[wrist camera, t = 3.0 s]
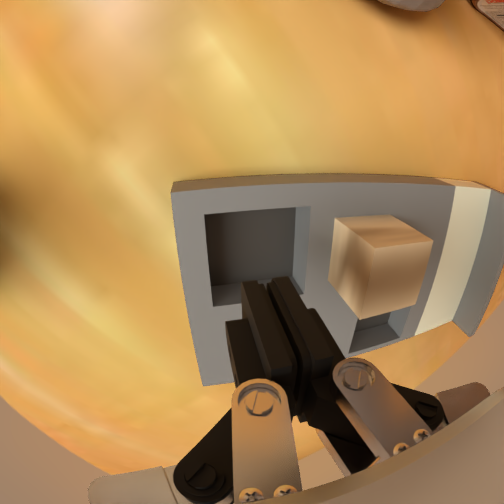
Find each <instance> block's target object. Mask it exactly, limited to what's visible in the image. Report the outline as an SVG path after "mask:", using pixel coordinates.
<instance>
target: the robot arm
mask: <svg viewBox="0 0 504 504" xmlns="http://www.w3.org/2000/svg"><path fill="white" fill-rule="evenodd" d="M241 303H242V319H238V320H230V321H225V328H226V338H227V346H228V352H229V358H230V363H231V368H232V372H233V377H234V382H235V386H236V390H235V391H234V393H233V396H232V408H231V409H230V410H229V411H228V412H227V413H226V414H225V415H224V416H223V417H222V419H221V420H220V421H219V422H218V423H217V424H216V425H215V426H214V427H213V428H212V429H211V430H210V431H209V432H208V433H207V435H206V436H205V437H204V438H203V439H202V440H201V441H200V442H199V443H198V444H197V445H196V446H195V447H194V448H193V449H192V450H191V451H190V452H189V453H188V454H187V455H186V456H185V457H184V458H183V459H182V460H181V461H180V462H179V463H178V464H177V465H174V466H170V467H166V468H163V467H162V466H160V467H156V468H151V469H146V470H141V471H136V472H130V473H124V474H117V475H110V476H103V477H99V478H97V479H95V480H94V481H93V482H91V484H90V486H89V488H88V498H89V502H90V504H233V503H234V504H504V387H502V388H501V389H499V390H497V391H496V392H494V393H493V394H491V395H490V393H489V392H488V389H487V388H486V387H485V386H484V385H482V384H481V383H477V382H474V383H470V384H467V385H463V386H460V387H457V388H453V389H450V390H446V391H442V392H439V393H436V395H435V396H432V395H430V394H426V393H423V392H420V391H416V390H413V389H409V388H406V387H402V386H399V385H396V384H393V383H390V382H389V381H388V380H387V379H386V378H385V377H384V375H383V374H382V373H381V372H380V371H379V370H378V369H377V368H376V367H375V366H374V365H373V364H372V363H371V362H369V361H367V360H365V359H361V358H348V359H346V358H345V356H344V355H343V353H342V351H341V350H340V348H339V347H338V345H337V343H336V342H335V340H334V338H333V337H332V335H331V333H330V332H329V330H328V328H327V327H326V325H325V323H324V322H323V320H322V319H321V317H320V315H319V314H318V312H317V311H316V309H314V308H309V309H307V307H306V306H305V304H304V302H303V301H302V299H301V297H300V295H299V294H298V292H297V290H296V289H295V287H294V285H293V284H292V282H291V280H290V278H289V277H288V276H284V277H277V278H272V280H271V282H269V283H267V286H266V288H265V286H264V284H263V283H261V284H258V281H257V280H253V281H244V282H241ZM296 415H297V416H298V419H299V421H300V423H301V422H305V421H307V422H308V424H309V426H311V427H314V428H315V430H316V432H317V434H318V436H319V438H320V439H321V441H322V442H323V444H324V445H325V447H326V448H327V450H328V452H329V453H330V455H331V456H332V458H333V459H334V461H335V462H336V464H337V465H338V467H339V469H340V470H341V472H342V473H343V475H344V476H345V477H344V478H342V479H339V480H336V481H333V482H330V483H327V484H324V485H321V486H318V487H314V488H311V489H308V490H304V491H302V484H301V478H300V472H299V466H298V459H297V453H296V447H295V441H294V435H293V429H292V419H293V416H296Z"/></svg>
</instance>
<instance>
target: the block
mask: <svg viewBox="0 0 504 504" xmlns="http://www.w3.org/2000/svg"><path fill="white" fill-rule="evenodd" d="M432 244H433V240H432V239H430V238H429V237H427V236H425V235H424V234H422V233H420V232H419V231H417V230H416V229H414V228H412V227H411V226H409V225H407V224H406V223H404V222H402V221H400V220H399V219H397V218H395V217H393V216H392V215H373V216H356V217H341V218H335V221H334V231H333V241H332V250H331V259H330V267H329V274H328V281H329V282H330V284H331V285H332V286H333V287H334V288H335V290H336V291H337V292H338V293H339V295H340V296H341V297H342V298H343V300H344V301H345V302H346V303H347V305H348V306H349V307H350V308H351V310H352V311H353V312H354V313H355V315H356V316H357V317H358V318H359V320H361V319H365V318H369V317H372V316H376V315H380V314H384V313H387V312H391V311H395V310H398V309H402V308H405V307H408V306H412V305H415V304H416V301H417V298H418V295H419V292H420V288H421V285H422V282H423V278H424V275H425V271H426V268H427V264H428V260H429V257H430V253H431V249H432Z"/></svg>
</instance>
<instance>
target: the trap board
mask: <svg viewBox="0 0 504 504" xmlns="http://www.w3.org/2000/svg"><path fill="white" fill-rule="evenodd" d="M171 201H172V210H173V219H174V227H175V235H176V242H177V250H178V257H179V264H180V270H181V277H182V283H183V289H184V295H185V301H186V307H187V312H188V318H189V323H190V328H191V333H192V338H193V343H194V348H195V353H196V357H197V362H198V367H199V371H200V375H201V380H202V384H203V386H210V385H218V384H225V383H232V382H234V377H233V372H232V368H231V363H230V358H229V352H228V346H227V338H226V328H225V321H230V320H238V319H242V303H241V282H244V281H253V280H257V281H258V284H261V283H263V284H264V286H265V288H266V286H267V283H269V282H271V280H272V278H277V277H284V276H288V277H289V278H290V280H291V282H292V284H293V285H294V287H295V289H296V290H297V292H298V294H299V295H300V297H301V299H302V301H303V302H304V304H305V306H306V307H307V309H309V308H314V309H316V311H317V312H318V314H319V315H320V317H321V319H322V320H323V322H324V323H325V325H326V327H327V328H328V330H329V332H330V333H331V335H332V337H333V338H334V340H335V342H336V343H337V345H338V347H339V348H340V350H341V351H342V353H343V355H344V356H345V358H349V357H352V356H356V355H359V354H362V353H366V352H369V351H372V350H375V349H378V348H382V347H385V346H388V345H390V344H393V343H396V342H399V341H402V340H405V339H407V338H410V337H413V336H415V335H418V334H421V333H423V332H426V331H428V330H431V329H433V328H436V327H438V326H441V325H443V324H445V323H448V322H450V321H453V322H454V323H455V324H456V325H457V326H458V327H459V328H460V329H461V330H462V331H463V332H464V333H465V334H466V335H467V336H468V337H471V336H472V335H474V334H475V332H476V330H477V328H478V326H479V324H480V322H481V320H482V317H483V315H484V313H485V311H486V309H487V306H488V304H489V302H490V299H491V297H492V294H493V292H494V289H495V287H496V284H497V282H498V279H499V276H500V273H501V270H502V268H503V265H504V193H502V192H500V191H497V190H495V189H493V188H490V187H488V186H485V185H483V184H480V183H478V182H473V181H464V180H455V179H444V178H432V177H419V176H403V175H381V174H278V175H256V176H239V177H224V178H211V179H200V180H189V181H180V182H173V186H172V189H171ZM373 215H392V216H393V217H395V218H397V219H399V220H400V221H402V222H404V223H406V224H407V225H409V226H411V227H412V228H414V229H416V230H417V231H419V232H420V233H422V234H424V235H425V236H427V237H429V238H430V239H432V240H433V244H432V249H431V253H430V257H429V260H428V264H427V268H426V271H425V275H424V278H423V282H422V285H421V288H420V292H419V295H418V298H417V301H416V304H415V305H412V306H408V307H405V308H402V309H398V310H395V311H391V312H387V313H384V314H380V315H376V316H372V317H369V318H365V319H361V320H359V318H358V317H357V316H356V315H355V313H354V312H353V311H352V310H351V308H350V307H349V306H348V305H347V303H346V302H345V301H344V300H343V298H342V297H341V296H340V295H339V293H338V292H337V291H336V290H335V288H334V287H333V286H332V285H331V284H330V282H329V281H328V274H329V267H330V259H331V250H332V241H333V231H334V221H335V218H341V217H356V216H373Z"/></svg>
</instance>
